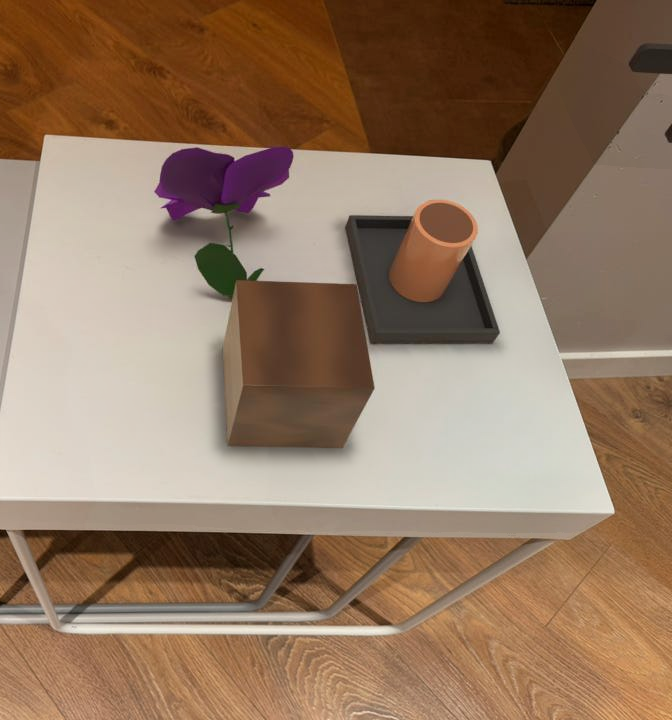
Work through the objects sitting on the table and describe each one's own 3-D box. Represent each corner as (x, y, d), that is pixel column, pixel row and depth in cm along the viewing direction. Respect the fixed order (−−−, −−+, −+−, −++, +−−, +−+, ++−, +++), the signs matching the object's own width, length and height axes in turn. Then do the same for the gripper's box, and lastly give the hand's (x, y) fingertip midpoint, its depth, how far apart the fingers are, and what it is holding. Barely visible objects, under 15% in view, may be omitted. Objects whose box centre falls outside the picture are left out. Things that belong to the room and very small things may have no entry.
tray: (492, 343, 81) (500, 332, 79) (370, 343, 80) (375, 332, 78) (455, 228, 90) (462, 216, 88) (345, 227, 89) (349, 214, 87)
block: (329, 351, 79) (356, 283, 70) (342, 447, 73) (375, 388, 64) (222, 348, 78) (236, 279, 69) (227, 445, 72) (243, 385, 63)
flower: (286, 299, 89) (266, 185, 89) (332, 272, 74) (308, 136, 75) (161, 316, 86) (143, 198, 87) (183, 292, 71) (160, 150, 72)
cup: (457, 280, 85) (490, 224, 77) (424, 312, 82) (455, 257, 74) (410, 247, 87) (437, 189, 79) (376, 277, 84) (402, 220, 77)
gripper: (839, 6, 63) (649, -6, 61) (934, 124, 55) (719, 113, 54) (773, 84, 69) (599, 74, 68) (851, 200, 61) (656, 191, 60)
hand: (652, 91), depth 61 cm, fingers open, 8 cm apart
